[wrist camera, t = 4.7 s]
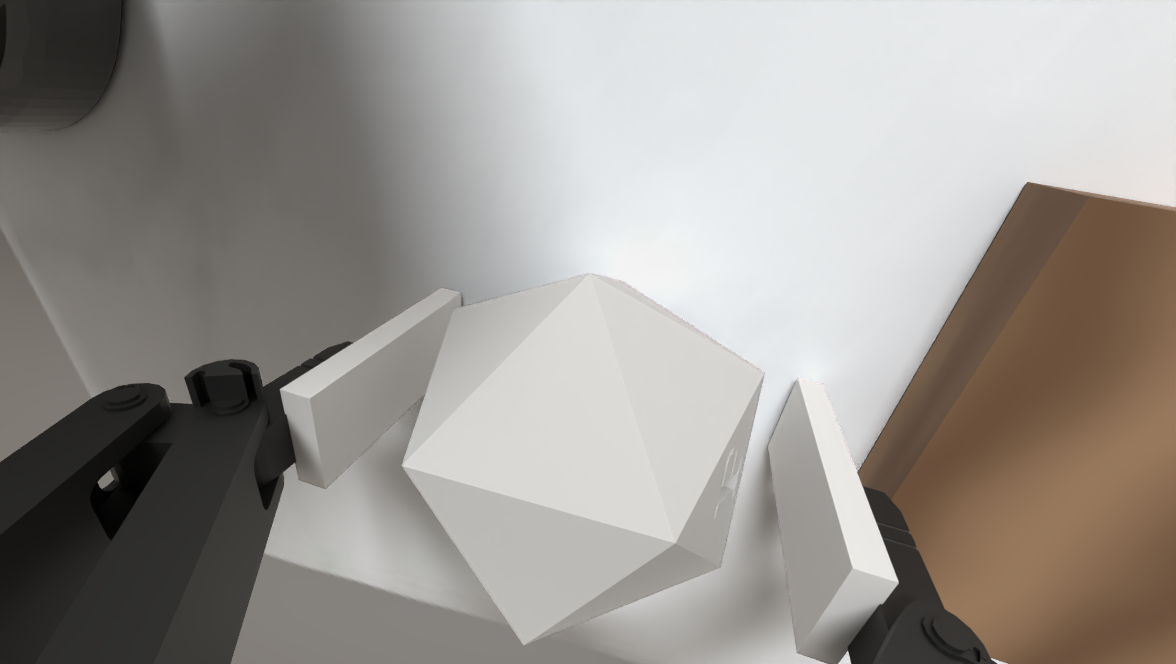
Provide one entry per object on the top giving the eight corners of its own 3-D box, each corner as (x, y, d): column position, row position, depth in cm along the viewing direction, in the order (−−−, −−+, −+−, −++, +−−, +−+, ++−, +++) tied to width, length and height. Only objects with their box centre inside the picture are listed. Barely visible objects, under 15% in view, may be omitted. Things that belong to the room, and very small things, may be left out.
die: (625, 489, 18) (814, 716, 9) (396, 488, 15) (354, 824, 6) (665, 289, 17) (917, 331, 8) (429, 246, 14) (433, 241, 5)
